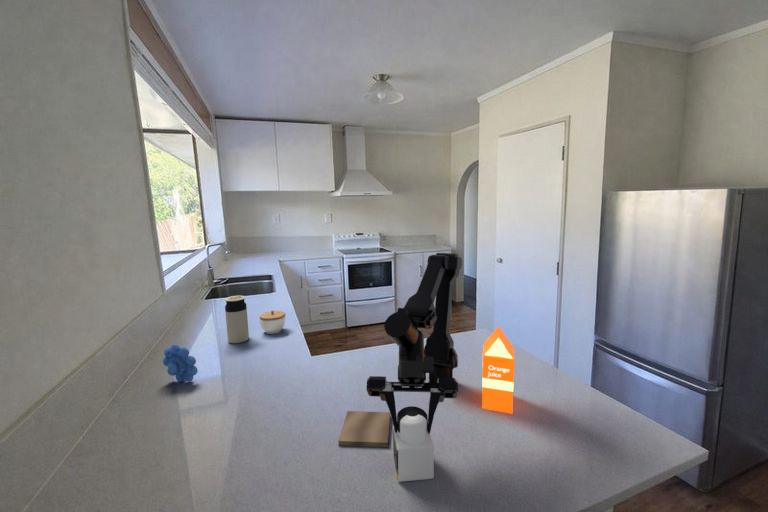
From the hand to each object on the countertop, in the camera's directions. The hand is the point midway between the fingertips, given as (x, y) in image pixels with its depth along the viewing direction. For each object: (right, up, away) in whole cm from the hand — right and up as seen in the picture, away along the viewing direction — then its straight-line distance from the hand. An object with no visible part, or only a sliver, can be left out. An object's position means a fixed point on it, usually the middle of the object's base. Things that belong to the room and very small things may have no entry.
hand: (412, 433), depth 64 cm
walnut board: (-10, -7, +14) cm, 19 cm away
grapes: (-69, -5, +38) cm, 79 cm away
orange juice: (+25, -5, +25) cm, 35 cm away
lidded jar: (-54, +1, +81) cm, 97 cm away
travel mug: (-66, 0, +71) cm, 97 cm away
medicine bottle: (0, -9, +3) cm, 9 cm away
